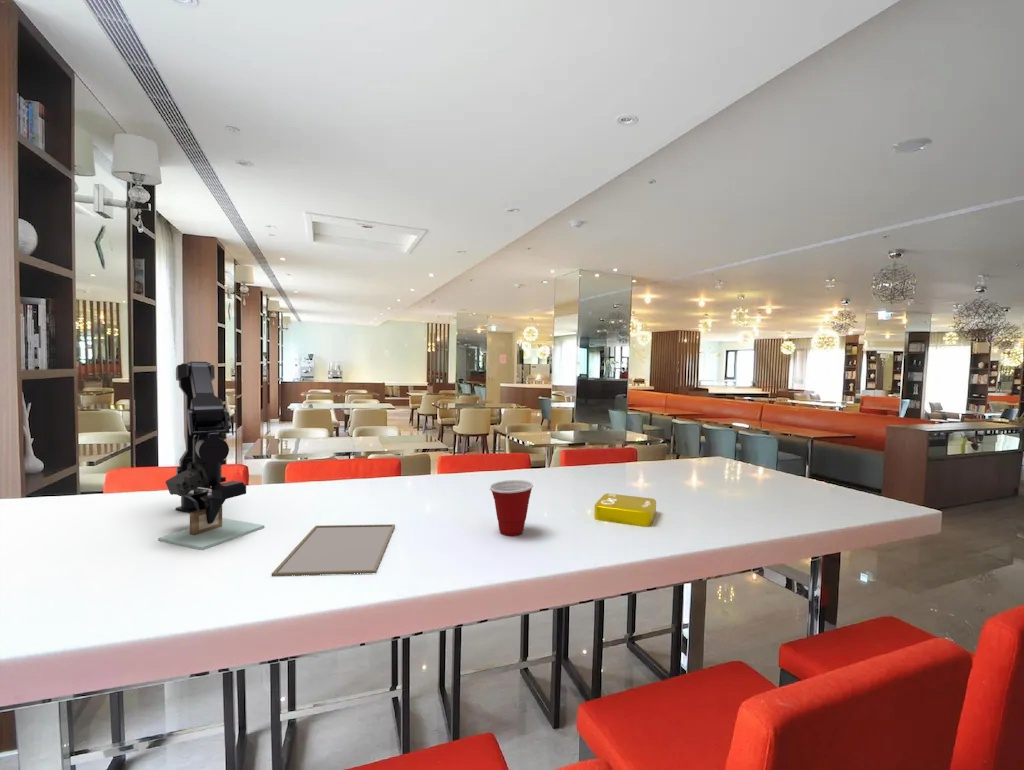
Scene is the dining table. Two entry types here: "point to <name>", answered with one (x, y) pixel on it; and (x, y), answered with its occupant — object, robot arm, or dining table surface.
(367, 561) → the picture frame
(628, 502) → the element tile
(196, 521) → the brown wooden block
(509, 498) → the plastic cup
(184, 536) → the mat
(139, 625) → the dining table surface
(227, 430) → the robot arm
